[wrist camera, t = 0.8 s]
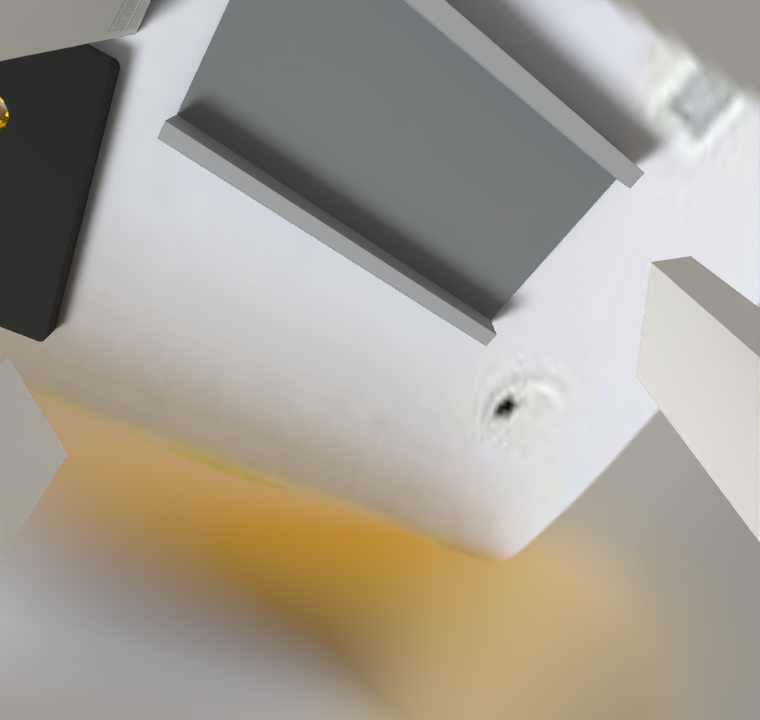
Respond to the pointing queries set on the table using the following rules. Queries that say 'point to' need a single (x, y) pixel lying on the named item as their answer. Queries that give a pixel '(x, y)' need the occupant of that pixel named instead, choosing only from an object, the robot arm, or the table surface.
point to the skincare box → (64, 23)
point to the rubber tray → (396, 144)
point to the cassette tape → (47, 175)
